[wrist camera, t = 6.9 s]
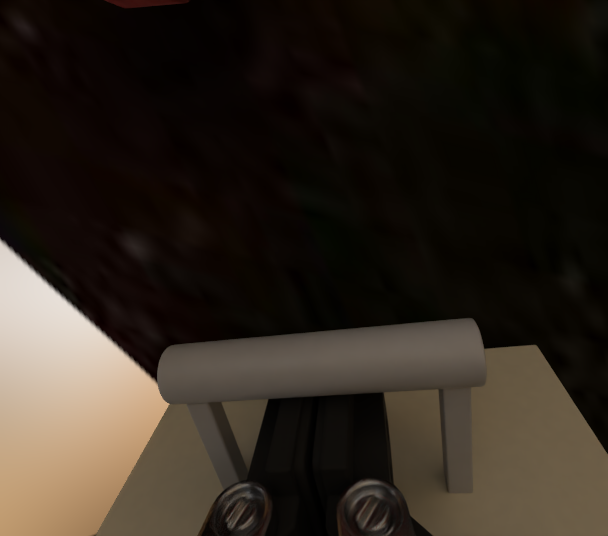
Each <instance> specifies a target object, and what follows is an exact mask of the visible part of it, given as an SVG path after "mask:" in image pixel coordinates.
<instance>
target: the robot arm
mask: <svg viewBox="0 0 608 536" xmlns="http://www.w3.org/2000/svg"><path fill="white" fill-rule="evenodd" d="M197 536H433V535H432V534H431V533H430V532H428V531H427V530H426V529H425V528H424V527H423V526H422V525H420V524H419V523H418V522H417V521H416V520H415V519H414V518H413V517H411V516H410V513H409V509H408V505H407V503H406V500H405V498H404V496H403V494H402V493H401V492H400V490H399V489H398V488H397V487H396V486H395V485H394V479H393V468H392V457H391V446H390V435H389V426H388V417H387V410H386V403H385V397H384V392H381V393H363V394H346V395H329V396H312V397H294V398H277V399H268V402H267V406H266V410H265V413H264V417H263V421H262V424H261V428H260V432H259V435H258V439H257V443H256V446H255V450H254V454H253V458H252V461H251V465H250V469H249V472H248V476H247V480H243V481H240V482H237V483H234V484H232V485H231V486H229V487H227V488H226V489H225V490H224V491H223V492H222V493H221V494H220V495H219V496H218V497H217V498H216V500H215V501H214V503H213V504H212V506H211V508H210V510H209V512H208V514H207V516H206V519H205V521H204V523H203V525H202V527H201V529H200V531H199V533H198V535H197Z"/></svg>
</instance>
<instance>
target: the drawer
mask: <svg viewBox="0 0 608 536" xmlns="http://www.w3.org/2000/svg"><path fill="white" fill-rule="evenodd" d="M157 381H158V387H159V391H160V394H161V396H162V397H163V399H164V400H165V401H166V402H167V403H169V404H170V405H169V406H168V408H167V410H166V412H165V413H164V416H163V417H162V419H161V420H160V422H159V424H158V426H157V428H156V429H155V431H154V433H153V435H152V437H151V438H150V440H149V442H148V444H147V445H146V447H145V449H144V451H143V452H142V454H141V456H140V458H139V460H138V461H137V463H136V465H135V467H134V469H133V470H132V472H131V474H130V475H129V477H128V479H127V481H126V483H125V484H124V486H123V488H122V490H121V491H120V493H119V495H118V497H117V498H116V500H115V502H114V504H113V506H112V507H111V509H110V511H109V513H108V514H107V516H106V518H105V520H104V521H103V523H102V525H101V527H100V529H99V530H98V532H97V534H96V536H197V535H198V533H199V531H200V529H201V527H202V525H203V523H204V521H205V519H206V516H207V514H208V512H209V510H210V508H211V506H212V504H213V503H214V501H215V500H216V498H217V497H218V496H219V495H220V494H221V493H222V492H223V491H224V490H225V489H226V488H227V487H229V486H231V485H232V484H234V483H237V482H240V481H243V480H247V476H248V472H249V469H250V465H251V461H252V458H253V454H254V450H255V446H256V443H257V439H258V435H259V432H260V428H261V424H262V421H263V417H264V413H265V410H266V406H267V402H268V399H277V398H294V397H312V396H329V395H346V394H363V393H381V392H384V397H385V403H386V410H387V417H388V426H389V435H390V446H391V457H392V468H393V479H394V485H395V486H396V487H397V488H398V489H399V490H400V492H401V493H402V494H403V496H404V498H405V500H406V503H407V505H408V509H409V513H410V516H411V517H413V518H414V519H415V520H416V521H417V522H418V523H419V524H420V525H422V526H423V527H424V528H425V529H426V530H427V531H428V532H430V533H431V534H432V535H433V536H608V454H607V453H606V451H605V450H604V448H603V447H602V445H601V444H600V442H599V441H598V439H597V438H596V436H595V434H594V433H593V431H592V430H591V428H590V427H589V425H588V424H587V422H586V421H585V419H584V418H583V416H582V414H581V413H580V411H579V410H578V408H577V407H576V405H575V404H574V402H573V401H572V399H571V398H570V396H569V395H568V393H567V391H566V390H565V388H564V387H563V385H562V384H561V382H560V381H559V379H558V378H557V376H556V375H555V373H554V371H553V370H552V368H551V367H550V365H549V364H548V362H547V361H546V359H545V358H544V356H543V355H542V353H541V351H540V350H539V348H538V347H537V346H536V345H528V346H515V347H502V348H489V349H484V346H483V342H482V338H481V334H480V331H479V329H478V326H477V324H476V323H475V321H474V320H473V319H472V318H464V319H453V320H442V321H431V322H420V323H409V324H398V325H387V326H376V327H365V328H354V329H343V330H332V331H321V332H310V333H299V334H288V335H277V336H266V337H255V338H244V339H233V340H223V341H212V342H201V343H190V344H179V345H172V346H170V347H168V348H167V349H166V350H165V351H164V352H163V354H162V356H161V358H160V361H159V365H158V372H157Z"/></svg>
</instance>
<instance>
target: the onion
mask: <svg viewBox="0 0 608 536" xmlns="http://www.w3.org/2000/svg"><path fill="white" fill-rule="evenodd" d="M105 1H108V2H110V3H113V4H115V5H118V6H120V7H123V8H136V7H147V6H159V5H170V4H181V3H187V2H189V1H190V0H105Z"/></svg>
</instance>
